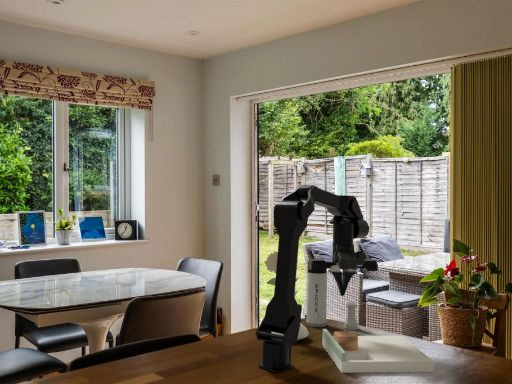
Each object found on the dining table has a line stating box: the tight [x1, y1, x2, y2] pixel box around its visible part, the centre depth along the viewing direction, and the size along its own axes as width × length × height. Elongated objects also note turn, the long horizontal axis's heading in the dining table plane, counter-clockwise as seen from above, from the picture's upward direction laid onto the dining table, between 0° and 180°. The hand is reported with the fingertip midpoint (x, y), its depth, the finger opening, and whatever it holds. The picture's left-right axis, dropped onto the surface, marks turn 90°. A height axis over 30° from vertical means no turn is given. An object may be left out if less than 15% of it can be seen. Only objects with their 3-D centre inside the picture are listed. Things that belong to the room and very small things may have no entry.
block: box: [333, 330, 359, 351], centre depth 139 cm, size 5×5×4 cm
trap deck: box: [321, 328, 435, 374], centre depth 140 cm, size 22×23×4 cm
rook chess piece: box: [343, 301, 359, 331], centre depth 170 cm, size 4×4×8 cm
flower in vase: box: [264, 251, 309, 341], centre depth 158 cm, size 13×11×25 cm
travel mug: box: [305, 260, 328, 328], centre depth 174 cm, size 6×7×20 cm
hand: (342, 295), depth 154 cm, fingers closed
